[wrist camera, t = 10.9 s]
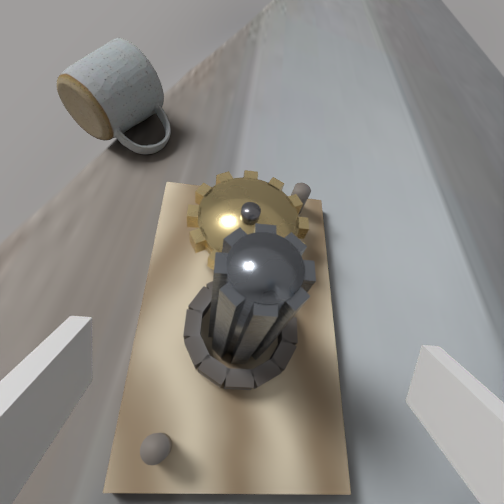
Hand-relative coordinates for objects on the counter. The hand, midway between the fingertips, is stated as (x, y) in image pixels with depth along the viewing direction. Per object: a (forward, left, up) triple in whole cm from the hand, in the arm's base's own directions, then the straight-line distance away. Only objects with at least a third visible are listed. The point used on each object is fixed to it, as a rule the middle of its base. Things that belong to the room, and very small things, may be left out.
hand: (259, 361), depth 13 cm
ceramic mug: (+13, -28, -14) cm, 34 cm away
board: (0, -6, -14) cm, 15 cm away
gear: (0, -13, -12) cm, 18 cm away
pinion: (0, -4, -12) cm, 13 cm away
